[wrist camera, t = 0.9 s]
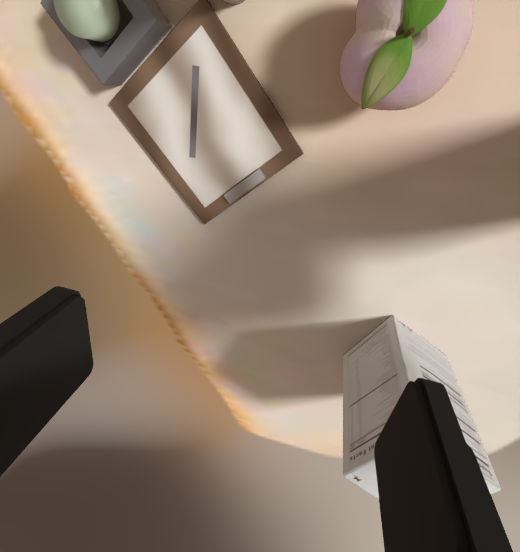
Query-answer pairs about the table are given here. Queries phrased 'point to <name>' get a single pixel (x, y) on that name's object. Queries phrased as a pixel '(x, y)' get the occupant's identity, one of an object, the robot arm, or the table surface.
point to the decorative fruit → (404, 50)
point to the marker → (234, 1)
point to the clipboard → (205, 116)
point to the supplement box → (394, 396)
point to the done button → (89, 18)
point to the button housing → (120, 41)
